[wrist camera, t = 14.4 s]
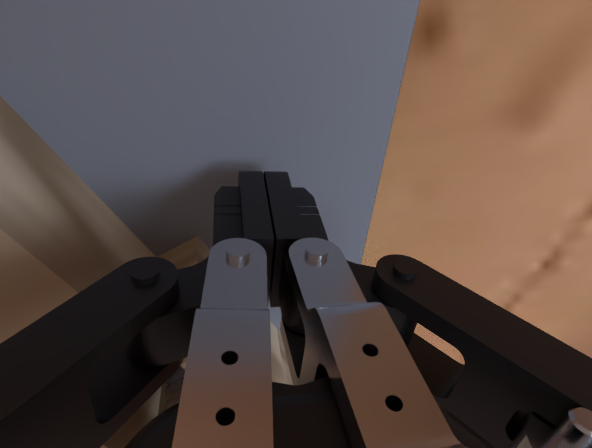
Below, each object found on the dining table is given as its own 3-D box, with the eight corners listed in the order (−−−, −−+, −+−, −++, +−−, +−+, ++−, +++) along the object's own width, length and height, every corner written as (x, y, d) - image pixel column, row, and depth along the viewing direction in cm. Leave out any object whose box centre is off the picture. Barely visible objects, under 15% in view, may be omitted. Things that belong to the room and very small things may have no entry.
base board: (501, -459, 8) (531, -502, 7) (323, 395, 24) (327, 411, 23) (-709, -822, 5) (-877, -957, 4) (-9, 423, 21) (-18, 442, 20)
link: (-204, 155, 12) (-366, 240, 8) (11, 13, 11) (-81, 50, 7) (155, 409, 21) (143, 498, 17) (291, 346, 20) (306, 429, 16)
